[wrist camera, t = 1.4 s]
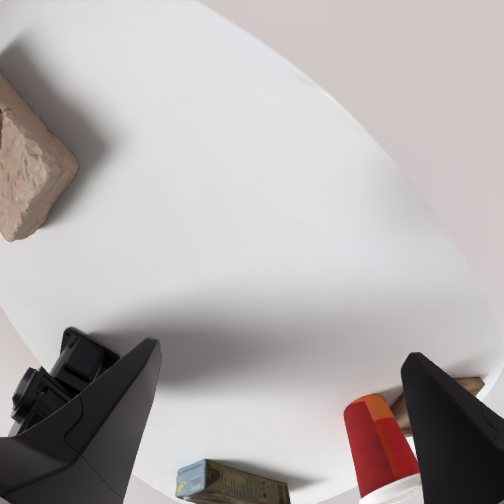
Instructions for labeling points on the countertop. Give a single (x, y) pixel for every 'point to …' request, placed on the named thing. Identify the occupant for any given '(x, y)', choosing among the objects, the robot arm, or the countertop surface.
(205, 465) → the beverage carton
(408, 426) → the tray
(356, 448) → the paper cup
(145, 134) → the countertop surface
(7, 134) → the brick
